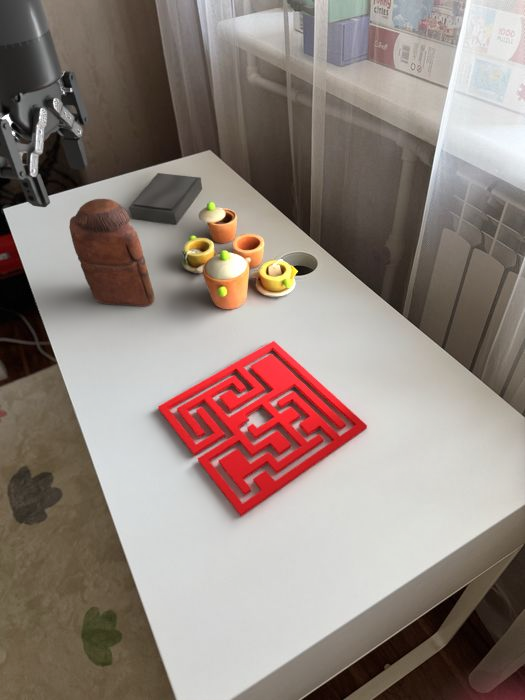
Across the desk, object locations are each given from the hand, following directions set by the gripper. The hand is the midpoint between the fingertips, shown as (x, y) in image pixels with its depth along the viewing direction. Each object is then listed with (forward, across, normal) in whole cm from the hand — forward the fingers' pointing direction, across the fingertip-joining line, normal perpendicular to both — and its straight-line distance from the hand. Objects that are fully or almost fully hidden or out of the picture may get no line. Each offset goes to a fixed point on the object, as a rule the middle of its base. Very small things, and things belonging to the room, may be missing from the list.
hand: (61, 185), depth 62 cm
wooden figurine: (+28, -12, -5) cm, 31 cm away
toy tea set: (+28, -23, +10) cm, 38 cm away
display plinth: (+28, -41, -9) cm, 51 cm away
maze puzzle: (+28, +7, +25) cm, 38 cm away
